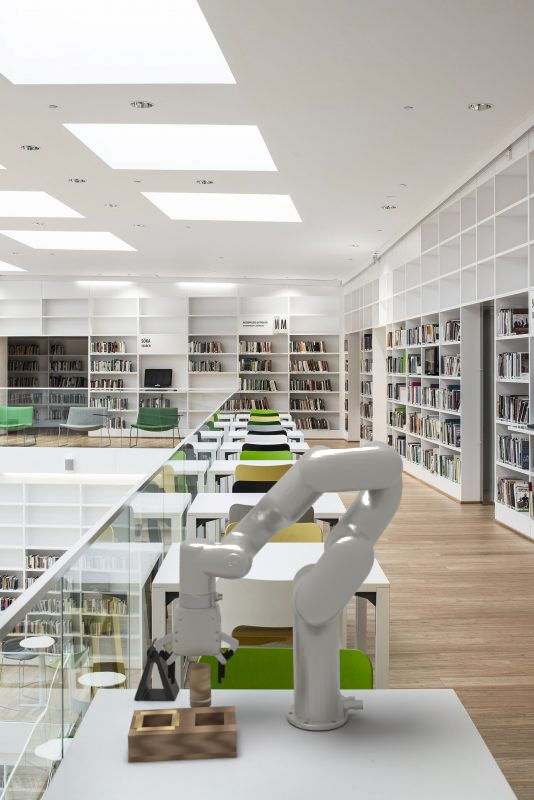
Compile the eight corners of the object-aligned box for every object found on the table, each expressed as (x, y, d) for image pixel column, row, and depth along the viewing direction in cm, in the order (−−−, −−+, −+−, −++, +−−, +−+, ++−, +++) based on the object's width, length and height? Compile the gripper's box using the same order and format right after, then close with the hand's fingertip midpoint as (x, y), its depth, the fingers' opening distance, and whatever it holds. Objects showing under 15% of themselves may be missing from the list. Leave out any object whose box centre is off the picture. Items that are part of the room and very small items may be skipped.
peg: (211, 713, 165) (210, 662, 165) (211, 723, 161) (210, 670, 160) (190, 714, 165) (189, 662, 164) (189, 724, 160) (188, 671, 160)
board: (235, 730, 157) (234, 704, 157) (236, 757, 146) (236, 729, 146) (134, 735, 156) (134, 709, 156) (128, 762, 145) (127, 734, 145)
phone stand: (179, 690, 178) (178, 637, 177) (174, 701, 172) (173, 647, 171) (140, 689, 178) (139, 637, 178) (134, 700, 172) (132, 646, 172)
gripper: (238, 594, 166) (237, 674, 167) (156, 594, 165) (155, 674, 166) (239, 604, 159) (238, 688, 159) (153, 605, 158) (152, 689, 158)
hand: (196, 681), depth 162 cm, fingers open, 9 cm apart
